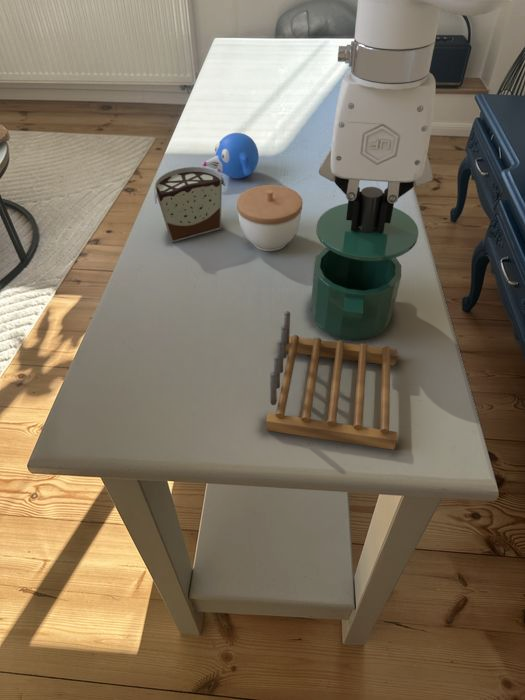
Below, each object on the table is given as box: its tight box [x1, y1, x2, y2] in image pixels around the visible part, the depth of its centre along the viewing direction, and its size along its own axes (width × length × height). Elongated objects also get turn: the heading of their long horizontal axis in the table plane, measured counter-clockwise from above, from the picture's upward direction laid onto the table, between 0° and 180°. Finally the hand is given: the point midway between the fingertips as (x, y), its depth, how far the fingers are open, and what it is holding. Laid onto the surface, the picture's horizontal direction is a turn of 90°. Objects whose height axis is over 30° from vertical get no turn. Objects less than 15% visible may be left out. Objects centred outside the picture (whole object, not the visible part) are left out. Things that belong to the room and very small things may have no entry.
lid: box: [316, 186, 419, 261], centre depth 59 cm, size 13×13×6 cm
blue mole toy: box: [201, 132, 259, 179], centre depth 97 cm, size 12×12×8 cm
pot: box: [310, 247, 402, 341], centre depth 68 cm, size 12×17×8 cm
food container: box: [153, 166, 226, 243], centre depth 84 cm, size 12×6×10 cm, turn 116°
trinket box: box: [236, 184, 303, 252], centre depth 81 cm, size 11×11×9 cm
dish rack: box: [265, 310, 398, 450], centre depth 58 cm, size 15×14×8 cm
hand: (367, 224), depth 60 cm, fingers closed on lid, 2 cm apart
